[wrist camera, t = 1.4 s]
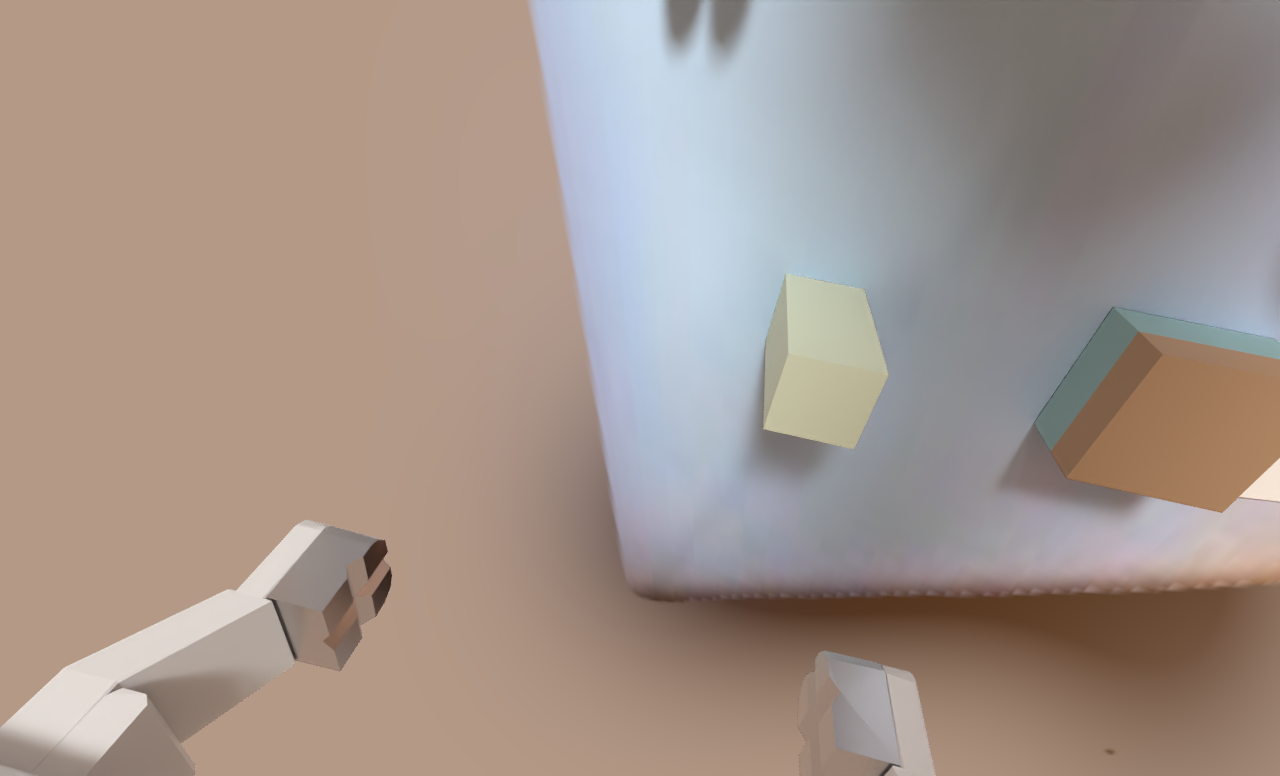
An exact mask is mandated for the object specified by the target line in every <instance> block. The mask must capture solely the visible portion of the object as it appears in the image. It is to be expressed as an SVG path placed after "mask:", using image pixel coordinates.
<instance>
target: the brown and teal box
mask: <svg viewBox="0 0 1280 776" xmlns="http://www.w3.org/2000/svg"><path fill="white" fill-rule="evenodd" d="M1034 425H1035V426H1036V428H1037V430H1038V431H1039V433H1040V435H1041V436H1042V438H1043V440H1044V442H1045V443H1046V445H1047V447H1048V448H1049V450H1050V452H1051V453H1052V455H1053V457H1054V459H1055V460H1056V462H1057V464H1058V465H1059V467H1060V469H1061V471H1062V472H1063V474H1064V476H1065V477H1066V478H1067V479H1072V480H1076V481H1081V482H1085V483H1090V484H1094V485H1099V486H1103V487H1108V488H1112V489H1117V490H1121V491H1126V492H1130V493H1135V494H1139V495H1144V496H1148V497H1153V498H1157V499H1162V500H1167V501H1171V502H1176V503H1180V504H1185V505H1189V506H1194V507H1198V508H1203V509H1207V510H1212V511H1216V512H1221V513H1222V512H1223V511H1224V510H1226V509H1227V508H1228V507H1229V506H1230V505H1231V504H1232V503H1233V502H1234V501H1235V500H1236V499H1237V498H1238V497H1239V496H1240V495H1241V494H1242V493H1243V492H1244V491H1245V490H1247V489H1248V488H1249V487H1250V486H1251V485H1252V484H1253V483H1254V482H1255V481H1256V480H1257V479H1258V478H1259V477H1260V476H1261V475H1262V474H1263V473H1264V472H1265V471H1267V470H1268V469H1269V468H1270V467H1271V466H1272V465H1273V464H1274V463H1275V462H1276V461H1277V460H1278V459H1279V458H1280V343H1279V342H1278V341H1276V340H1275V339H1273V338H1267V337H1262V336H1257V335H1252V334H1247V333H1242V332H1237V331H1232V330H1227V329H1222V328H1217V327H1212V326H1207V325H1202V324H1197V323H1192V322H1186V321H1181V320H1176V319H1171V318H1166V317H1161V316H1156V315H1151V314H1146V313H1141V312H1136V311H1131V310H1126V309H1121V308H1116V307H1113V308H1112V310H1111V311H1110V313H1109V314H1108V315H1107V317H1106V318H1105V320H1104V321H1103V323H1102V324H1101V326H1100V327H1099V329H1098V330H1097V332H1096V333H1095V335H1094V336H1093V337H1092V339H1091V340H1090V342H1089V343H1088V345H1087V346H1086V348H1085V349H1084V351H1083V352H1082V354H1081V355H1080V356H1079V358H1078V359H1077V361H1076V362H1075V364H1074V365H1073V367H1072V368H1071V370H1070V371H1069V373H1068V374H1067V375H1066V377H1065V378H1064V380H1063V381H1062V383H1061V384H1060V386H1059V387H1058V389H1057V390H1056V392H1055V393H1054V395H1053V396H1052V397H1051V399H1050V400H1049V402H1048V403H1047V405H1046V406H1045V408H1044V409H1043V411H1042V412H1041V414H1040V415H1039V416H1038V418H1037V419H1036V421H1035V422H1034Z"/></svg>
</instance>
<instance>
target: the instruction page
mask: <svg viewBox="0 0 1280 776" xmlns="http://www.w3.org/2000/svg"><path fill="white" fill-rule="evenodd" d="M1239 497H1244V498H1253V499H1262V500H1270V501H1279V502H1280V458H1279V459H1278V460H1277V461H1276V462H1275V463H1274V464H1273V465H1272V466H1271V467H1270V468H1269V469H1268V470H1267V471H1265V472H1264V473H1263V474H1262V475H1261V476H1260V477H1259V478H1258V479H1257V480H1256V481H1255V482H1254V483H1253V484H1252V485H1251V486H1250V487H1249V488H1248V489H1247V490H1245V491H1244V492H1243V493H1242V494H1241V495H1240V496H1239Z"/></svg>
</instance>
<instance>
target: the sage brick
mask: <svg viewBox="0 0 1280 776" xmlns="http://www.w3.org/2000/svg"><path fill="white" fill-rule="evenodd" d="M888 376H889V373H888V369H887V366H886V363H885V359H884V356H883V352H882V349H881V345H880V342H879V338H878V335H877V331H876V328H875V324H874V321H873V318H872V314H871V311H870V307H869V304H868V300H867V297H866V293H865V290H864V289H860V288H855V287H850V286H845V285H840V284H836V283H831V282H826V281H821V280H816V279H811V278H806V277H801V276H796V275H791V274H786V275H785V278H784V281H783V285H782V288H781V291H780V295H779V298H778V301H777V305H776V308H775V311H774V315H773V318H772V321H771V325H770V328H769V331H768V334H767V338H766V352H765V385H764V419H763V429H765V430H769V431H774V432H778V433H783V434H787V435H792V436H796V437H801V438H805V439H810V440H814V441H819V442H823V443H828V444H832V445H837V446H841V447H846V448H850V449H855V446H856V444H857V442H858V440H859V438H860V436H861V434H862V431H863V429H864V427H865V425H866V423H867V421H868V419H869V416H870V414H871V412H872V410H873V408H874V406H875V404H876V401H877V399H878V397H879V395H880V393H881V391H882V388H883V386H884V384H885V382H886V380H887V378H888Z"/></svg>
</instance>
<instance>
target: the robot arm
mask: <svg viewBox="0 0 1280 776" xmlns="http://www.w3.org/2000/svg"><path fill="white" fill-rule="evenodd" d="M387 552H388V550H387V546H386V542H385V540H382V539H378V538H374V537H371V536H367V535H363V534H359V533H356V532H352V531H348V530H344V529H340V528H336V527H334V526H330V525H326V524H322V523H318V522H314V521H310V520H304V521H303V522H301V523H299V524H298V525H296V526H295V527H294V528H293V529H292V530H291V531H290V532H289V533H288V534H287V536H286V537H285V538H284V539H283V540H282V541H281V542H280V543H279V544H278V545H277V547H276V548H275V549H274V550H273V551H272V552H271V553H270V554H269V555H268V556H267V558H266V559H265V560H264V561H263V562H262V563H261V564H260V565H259V566H258V567H257V569H256V570H255V571H254V572H253V573H252V574H251V575H250V576H249V578H247V580H245V582H244V583H243V584H242V585H241V586H240V587H239V588H238V589H237V590H236V591H235V590H231V589H227V590H225V591H223V592H221V593H219V594H217V595H215V596H213V597H211V598H209V599H207V600H205V601H202V602H200V603H198V604H196V605H194V606H192V607H190V608H188V609H186V610H184V611H182V612H179V613H178V614H175V615H173V616H171V617H169V618H167V619H165V620H163V621H161V622H159V623H156V624H155V625H152V626H150V627H148V628H146V629H144V630H142V631H140V632H138V633H136V634H134V635H131V636H129V637H128V638H125V639H123V640H121V641H119V642H117V643H115V644H113V645H111V646H109V647H106V648H104V649H102V650H100V651H98V652H96V653H94V654H92V655H90V656H88V657H86V658H84V659H81V660H79V661H77V662H75V663H73V664H71V665H69V666H67V667H65V668H64V669H63V670H61V671H60V672H59V673H58V674H57V675H56V676H55V677H54V678H53V679H52V680H51V681H50V682H49V683H48V684H46V685H45V686H44V687H43V688H42V689H41V690H40V691H39V692H38V693H37V694H36V695H35V696H34V697H33V698H32V699H31V700H29V701H28V702H27V703H26V704H25V705H24V706H23V707H22V708H21V709H20V710H19V711H18V712H17V713H16V714H15V715H13V716H12V717H11V718H10V719H9V720H8V721H7V722H6V723H5V724H4V725H3V726H2V727H1V728H0V776H194V775H195V763H194V762H193V761H192V759H191V758H190V756H189V755H188V753H187V752H186V751H185V749H184V748H183V746H182V745H181V743H182V742H184V741H185V740H187V739H188V738H190V737H191V736H192V735H194V734H195V733H197V732H198V731H199V730H201V729H202V728H204V727H205V726H207V725H208V724H210V723H211V722H212V721H214V720H215V719H217V718H218V717H220V716H221V715H223V714H224V713H225V712H227V711H228V710H230V709H231V708H233V707H234V706H235V705H237V704H238V703H240V702H241V701H243V700H244V699H246V698H247V697H248V696H250V695H251V694H253V693H254V692H256V691H257V690H258V689H260V688H261V687H263V686H264V685H266V684H267V683H268V682H270V681H271V680H273V679H274V678H275V677H277V676H278V675H280V674H281V673H283V672H284V671H285V670H287V669H288V668H290V667H291V666H293V665H294V664H295V661H300V662H304V663H308V664H312V665H316V666H320V667H324V668H329V669H333V670H337V671H341V670H342V668H343V667H344V665H345V663H346V662H347V660H348V659H349V657H350V656H351V654H352V652H353V651H354V650H355V648H356V647H357V645H358V643H359V642H360V640H361V639H362V630H361V625H362V624H364V623H365V622H367V621H369V620H370V619H372V618H374V617H376V616H377V614H378V612H379V611H380V609H381V607H382V606H383V604H384V603H385V600H386V598H387V595H388V592H389V590H390V587H391V579H392V574H391V567H390V566H389V565H388V564H387V563H386V562H385V561H384V559H383V558H384V557H385V555H386V554H387ZM798 700H799V701H798V729H799V730H800V732H801V734H802V736H803V737H804V739H805V741H806V744H805V746H804V747H803V749H802V750H801V752H800V754H799V771H800V772H799V775H800V776H936V773H935V768H934V763H933V758H932V754H931V749H930V744H929V740H928V735H927V730H926V726H925V721H924V717H923V712H922V707H921V702H920V698H919V693H918V689H917V684H916V680H915V678H914V676H913V675H912V673H910V672H908V671H906V670H902V669H897V668H893V667H889V666H884V665H880V664H879V663H875V662H871V661H867V660H863V659H859V658H854V657H850V656H846V655H841V654H837V653H833V652H829V651H824V650H823V651H821V652H819V654H818V656H817V657H816V659H815V671H814V672H811V673H808V674H807V675H806V677H805V679H804V681H803V683H802V686H801V690H800V695H799V699H798Z"/></svg>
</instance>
